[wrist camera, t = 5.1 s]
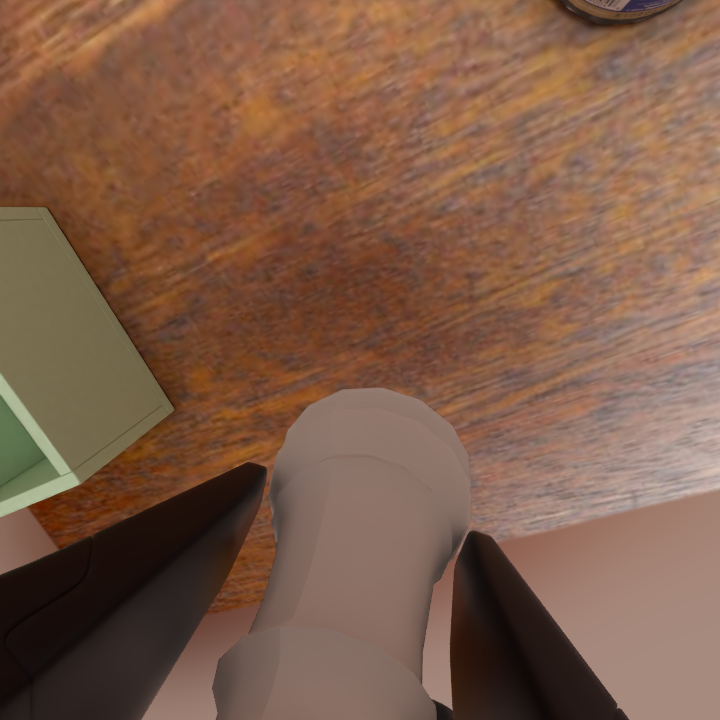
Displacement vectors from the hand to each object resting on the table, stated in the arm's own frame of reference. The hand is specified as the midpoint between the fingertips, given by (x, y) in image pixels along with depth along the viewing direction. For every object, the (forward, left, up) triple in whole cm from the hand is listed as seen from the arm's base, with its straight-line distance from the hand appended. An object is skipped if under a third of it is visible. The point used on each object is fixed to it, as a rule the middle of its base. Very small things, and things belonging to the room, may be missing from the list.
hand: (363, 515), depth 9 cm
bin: (-5, +18, -12) cm, 22 cm away
